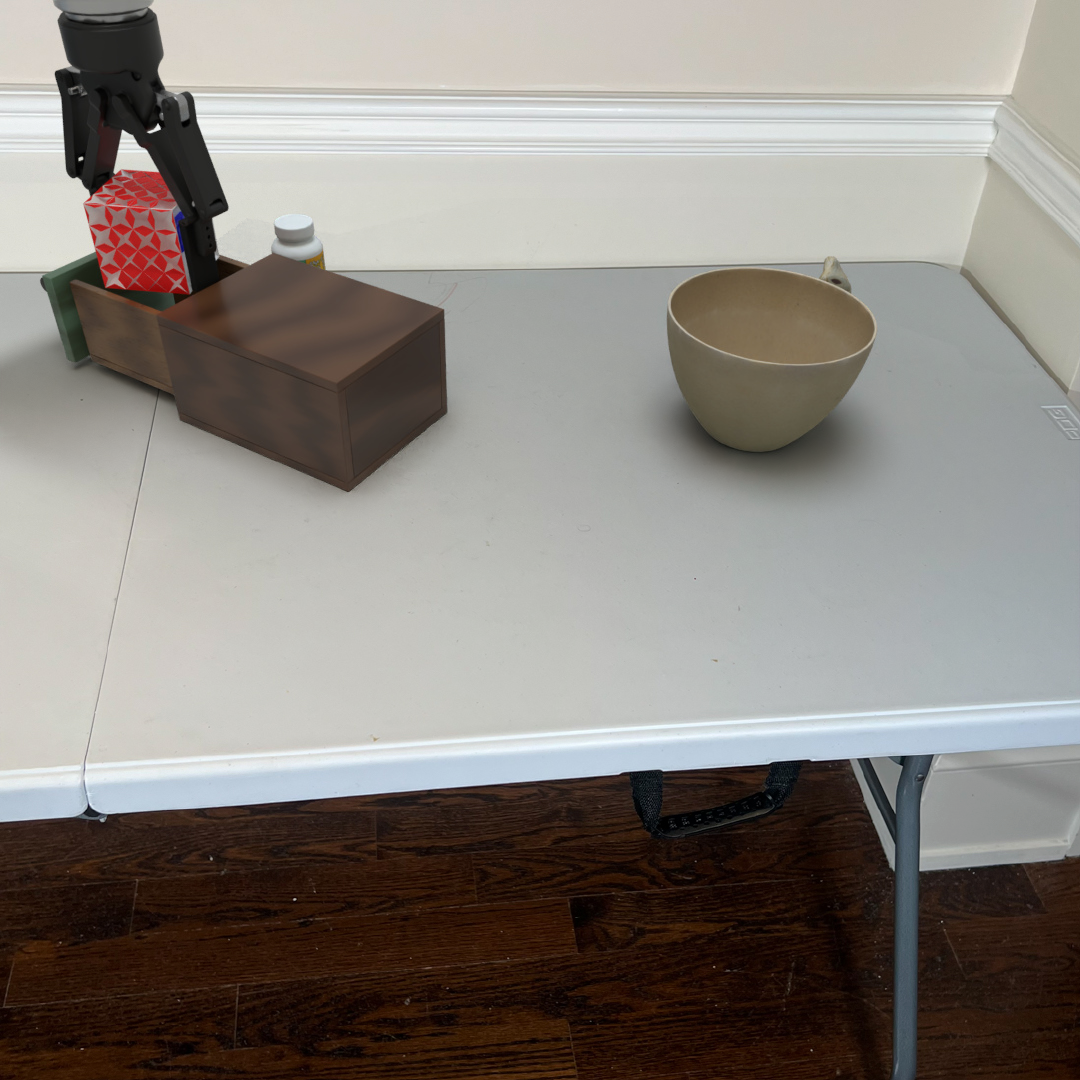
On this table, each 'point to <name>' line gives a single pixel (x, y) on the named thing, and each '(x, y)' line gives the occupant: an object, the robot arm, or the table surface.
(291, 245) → the supplement bottle
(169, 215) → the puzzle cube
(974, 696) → the table surface
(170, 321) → the cabinet
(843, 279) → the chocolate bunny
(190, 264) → the robot arm
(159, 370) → the drawer
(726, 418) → the beige bowl
